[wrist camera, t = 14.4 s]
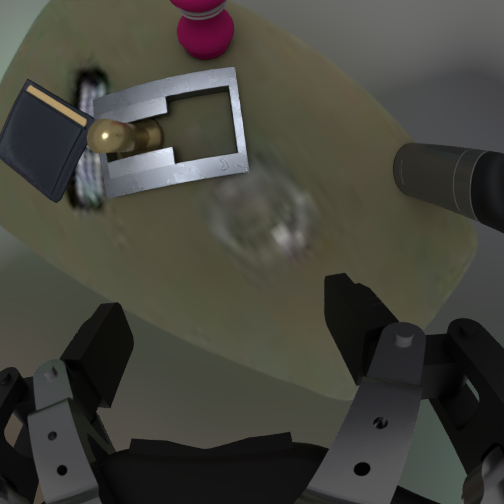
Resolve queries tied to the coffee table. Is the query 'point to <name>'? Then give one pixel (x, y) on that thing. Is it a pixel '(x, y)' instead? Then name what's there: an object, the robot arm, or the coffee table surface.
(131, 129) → the bolt
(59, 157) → the wallet
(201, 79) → the keyhole plate
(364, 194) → the coffee table surface
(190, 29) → the pepper mill
